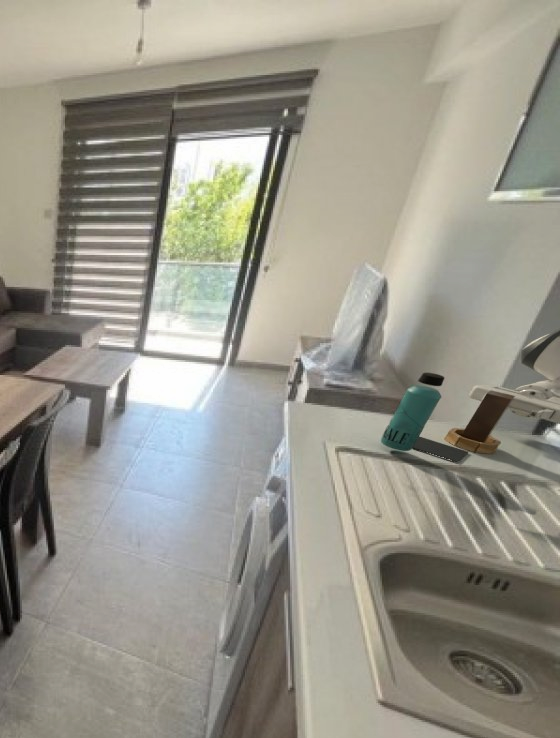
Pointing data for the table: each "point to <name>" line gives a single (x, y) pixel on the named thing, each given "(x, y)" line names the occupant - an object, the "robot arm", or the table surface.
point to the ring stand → (471, 442)
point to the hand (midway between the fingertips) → (509, 407)
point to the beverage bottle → (413, 413)
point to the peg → (487, 416)
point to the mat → (439, 449)
